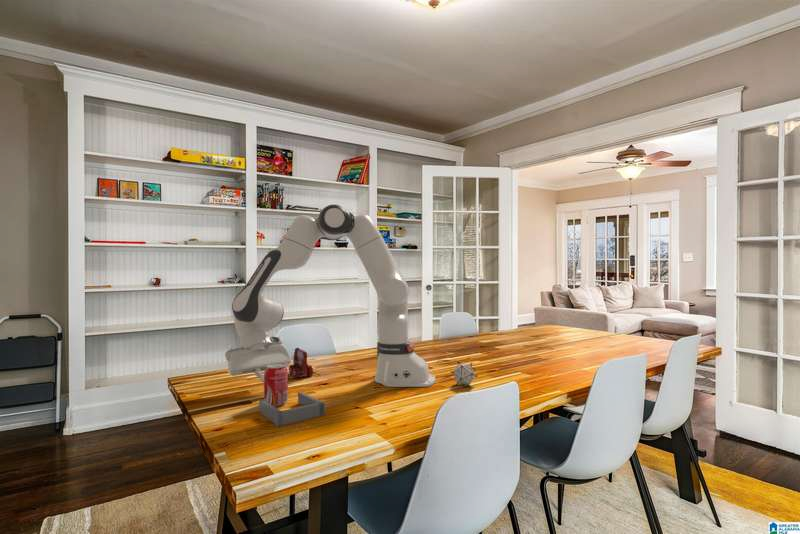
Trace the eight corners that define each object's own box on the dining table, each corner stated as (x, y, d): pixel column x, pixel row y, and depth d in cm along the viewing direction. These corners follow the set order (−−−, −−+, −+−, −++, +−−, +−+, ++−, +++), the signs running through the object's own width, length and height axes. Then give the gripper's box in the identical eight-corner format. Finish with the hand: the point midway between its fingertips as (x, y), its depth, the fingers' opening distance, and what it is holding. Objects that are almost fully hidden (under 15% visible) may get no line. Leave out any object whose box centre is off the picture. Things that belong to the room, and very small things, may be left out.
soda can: (267, 400, 138) (266, 362, 138) (289, 399, 138) (289, 362, 138) (261, 408, 131) (261, 368, 131) (285, 407, 131) (285, 367, 131)
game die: (468, 394, 155) (485, 372, 155) (462, 392, 147) (479, 368, 148) (449, 379, 159) (465, 357, 160) (442, 376, 152) (459, 353, 152)
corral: (257, 412, 127) (257, 400, 127) (303, 402, 136) (303, 391, 136) (276, 426, 116) (276, 413, 116) (325, 414, 125) (325, 402, 125)
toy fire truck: (304, 370, 175) (303, 345, 175) (314, 377, 165) (314, 350, 165) (287, 373, 172) (286, 347, 172) (296, 380, 161) (296, 352, 161)
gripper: (225, 344, 140) (235, 381, 132) (285, 337, 153) (298, 370, 145) (221, 355, 144) (231, 392, 136) (280, 347, 156) (292, 380, 149)
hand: (266, 380), depth 141 cm, fingers closed
